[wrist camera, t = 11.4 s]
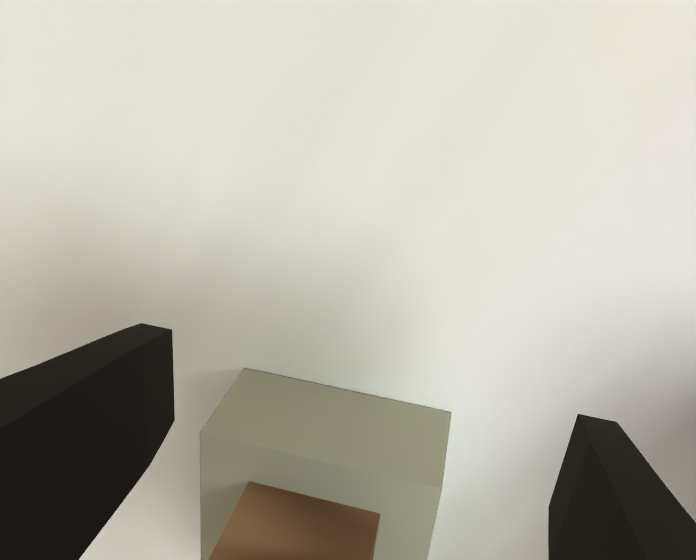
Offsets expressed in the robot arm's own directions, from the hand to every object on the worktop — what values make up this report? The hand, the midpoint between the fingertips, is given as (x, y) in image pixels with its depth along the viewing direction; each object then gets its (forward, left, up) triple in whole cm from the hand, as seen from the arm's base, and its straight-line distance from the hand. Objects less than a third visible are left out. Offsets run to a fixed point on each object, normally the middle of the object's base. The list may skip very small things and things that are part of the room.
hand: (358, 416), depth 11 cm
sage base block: (+2, +11, -10) cm, 15 cm away
